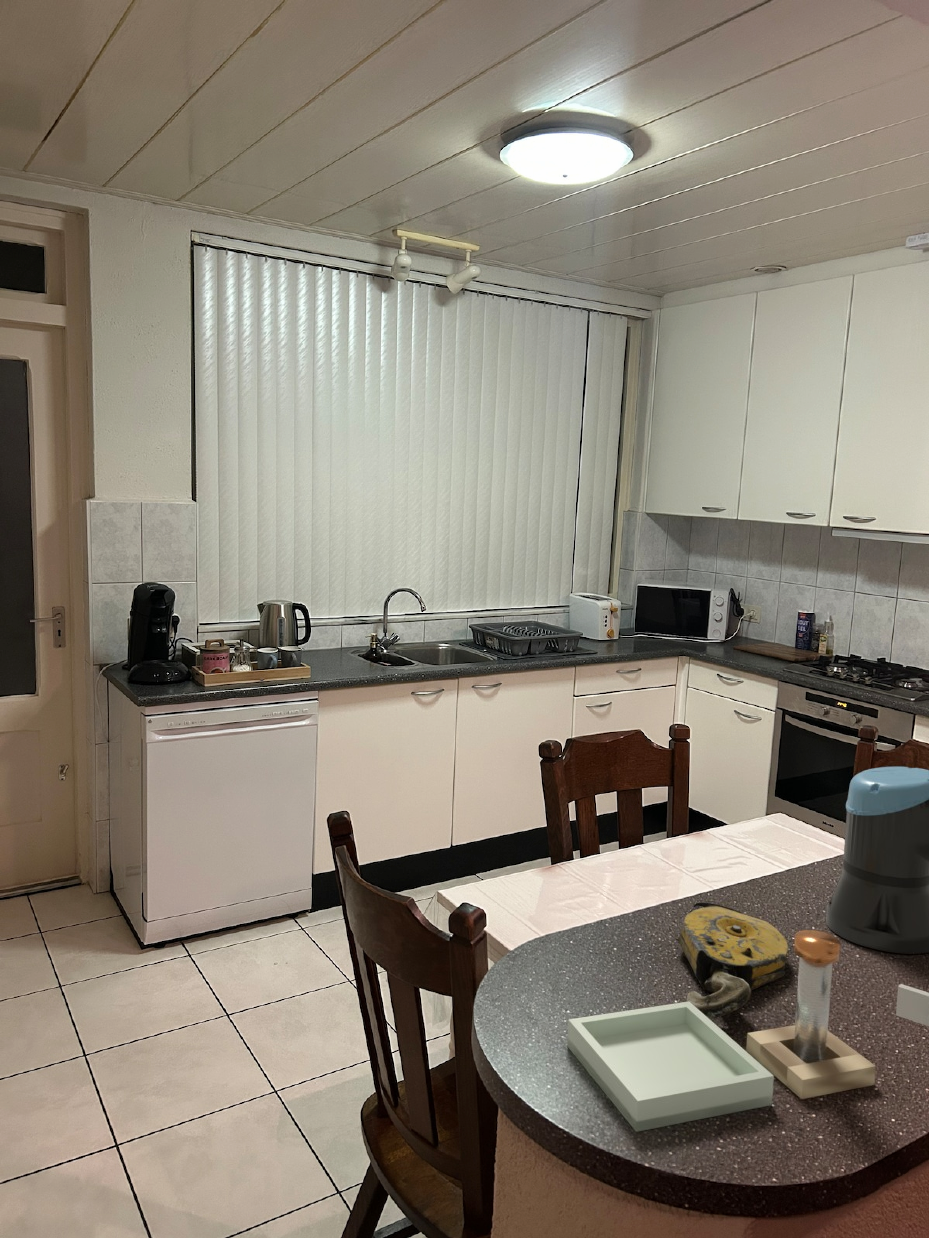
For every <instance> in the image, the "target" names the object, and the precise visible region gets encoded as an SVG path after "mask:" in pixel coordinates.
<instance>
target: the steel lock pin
mask: <svg viewBox="0 0 929 1238" xmlns="http://www.w3.org/2000/svg"><path fill="white" fill-rule="evenodd" d="M793 944H794V947H793V951H794V954H795V955H796V956H798V957H799V963H798V964H799V965H798V977H797V989H796V990H797V991H796V1007H795V1021H794V1022H795V1023H794V1025H795V1033H794V1048H793V1053H794V1054H795V1055H796V1056H798V1057H799V1058H800V1059H801V1060H802V1061H804V1062H805V1063H806V1064H808V1063H813V1062H819V1061H824V1060H826V1046H827V1032H828V1031H829V1020H830V1019H829V1017H830V1005H831V1003H830V1002H831V989H832V988H831V987H832V974H833V964H834V963H837V962H838V961H839V960H840V951H841V941H840V940H839V939H838V937H836V936H834V935H832V934H830V933H827V932H824V931H820V930H814V929H813V930H812V929H811V930H810V929H803V930H799V931H797V932H796V933H795V934H794V943H793Z"/></svg>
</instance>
